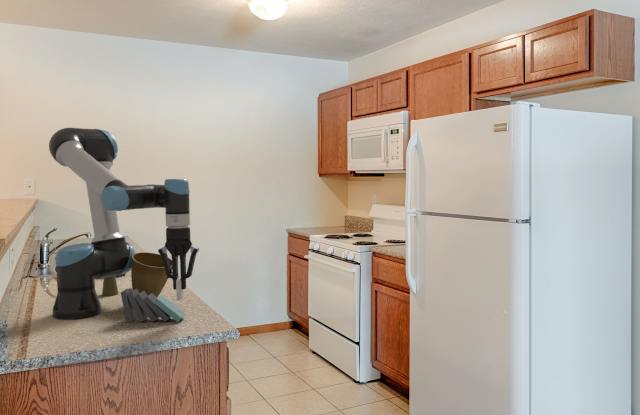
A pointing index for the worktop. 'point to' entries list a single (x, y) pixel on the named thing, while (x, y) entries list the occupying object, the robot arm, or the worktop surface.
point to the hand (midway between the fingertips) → (180, 299)
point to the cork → (110, 286)
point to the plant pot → (148, 273)
